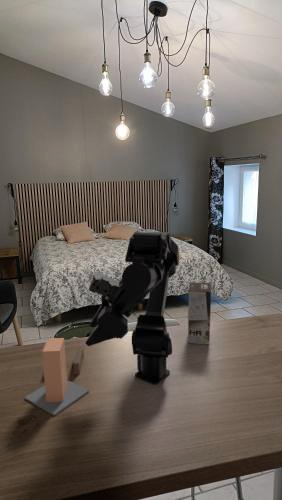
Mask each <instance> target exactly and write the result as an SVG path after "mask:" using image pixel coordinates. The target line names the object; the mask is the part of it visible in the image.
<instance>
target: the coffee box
mask: <svg viewBox="0 0 282 500" xmlns="http://www.w3.org/2000/svg"><path fill="white" fill-rule="evenodd" d="M211 285H212V284H211V282H189V287H188V303H187V304H188V308H187V309H188V310H187V311H188V313H187V314H188V315H187V318H188V319H187V343H189V344H197V345H198V344H199V345H209V344H210V337H211V336H210V335H211V315H212V314H211V311H212V310H211V307H212V301H211V300H212V290H211V289H212V287H211Z"/></svg>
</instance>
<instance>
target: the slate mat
mask: <svg viewBox="0 0 282 500" xmlns="http://www.w3.org/2000/svg"><path fill="white" fill-rule="evenodd" d="M89 392H90V390H89V389H87V388H85V387H82V386H80V385H79V384H76V383H74V382H72V381H70V380H68V379H67V389H66V393H65V397H64V400H63V402H46V391H45V384H44V385H43V386H41V387H39V388H38V389H36V390H34V391H33V392H31V393H29V394H27V395H25V396H24V399H25V400H26V401H28V402H29V403H31V404H33V405H34V406H36V407H38V408H39V409H42V410H44V411H45V412H46V413H48V414H50V415H52V416H54V417H56V416H57V415H58V414H59V413H61V412H62V411H63V410H65V409H66V408H68V407H70V406H71V405H73V404H74V403H76V402H77V401H79V399H81V398H82V397H85V395H87V394H88V393H89Z"/></svg>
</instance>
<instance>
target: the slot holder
mask: <svg viewBox="0 0 282 500" xmlns="http://www.w3.org/2000/svg"><path fill="white" fill-rule="evenodd" d="M84 351H85V350H84V345H80V346H79V345H77V349H76V352H75V356H74V360H73V365H72V366H73V375H80V374H81V369H82V365H83V363H84V357H85V354H84Z"/></svg>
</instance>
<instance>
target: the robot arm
mask: <svg viewBox="0 0 282 500" xmlns="http://www.w3.org/2000/svg"><path fill="white" fill-rule="evenodd" d="M128 241H129V242H128V246H127V250H126V255H125V259H124V262H125V263H130V264H129V265H127V266H125V268H124V269H123V272H122V274H121V279H120V280H116V279H114V278H112V277H111V276H108V275H105V274H103V273H100V272H97V271H96V272H95V273H94V274H93V277H92V280H90V281H91V282H90V284H89V286H88V290H89V292H91V293H93V294H95V293H96V294H99V295H100V296H101V304H100V306H99V308H98V310H97V311H96V313H95V315H94V317H93V318H92V320H91V321H90V323H89V326H90V327H91V328H92V329H93V331H91V333H90V334H89V336H88V337H87V339H86V341H85V345H86V346H88V347H90V346H94V345H97V344H100V343H103V342H106V341H109V340H112V339H113V340H114V339H120V340H121V339H123V338H124V337H125V336H126V335H127V334H128V333H129V326H128V325H129V324H128V323H129V321H128V318H130V316H131V315H132V311H133V310H134V309H135V308H136V307H137V306H138V305H139V304H140V305H142V304H143V303H144V302H145V298H146V297H147V296H148V301H147V306H146V309H145V310H146V311H145V313H144V314H138V316H137V321H136V326H135V327H134V329H133V330H132V333H131V346H132V353H133V356H134V355H137V356H136V357H137V358H136V360H137V362H136V363H137V366H136V367H137V371H136V373H135V374H134V377H135V378H137V379H140V380H143V381H145V382H148V383H151V384H152V385H158V384H159V383H160V382H162V380H164V379H165V378H166V377H167V376H168V375H169V374H170V373H171V370H169V369H167V358H169V356H171V355H172V354H173V343H172V339H171V337H170V333H169V332H168V330H167V323H166V321H165V318H164V315H165V307H166V302H167V301H166V300H167V294H168V287H169V280H170V278H171V277H173V276H174V275H175V274H176V273H177V266H180V251H179V249H180V248H179V245H178V244H177V243H176V242H175V241H174V240H173V238H172V234H171V233H169V232H167V231H165V232H164V231H155V232H151V231H149V232H146V231H145V232H144V231H141V232H140V231H139V232H138V231H137V232H136V231H135V232H134V233H133V234H132V236H130V237H129V240H128ZM148 294H149V295H148Z"/></svg>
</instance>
